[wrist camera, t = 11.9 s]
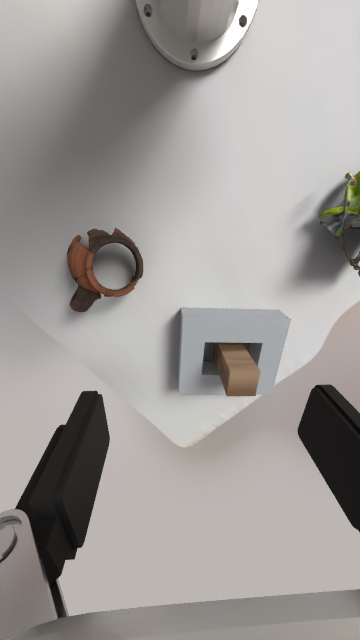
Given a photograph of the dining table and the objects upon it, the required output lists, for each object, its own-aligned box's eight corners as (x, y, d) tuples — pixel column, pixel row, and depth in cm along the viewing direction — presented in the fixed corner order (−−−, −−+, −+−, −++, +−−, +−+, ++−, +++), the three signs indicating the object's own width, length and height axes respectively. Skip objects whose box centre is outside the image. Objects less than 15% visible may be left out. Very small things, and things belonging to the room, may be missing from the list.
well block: (181, 307, 35) (182, 317, 31) (278, 309, 36) (290, 319, 33) (177, 379, 41) (178, 394, 37) (262, 379, 42) (271, 394, 38)
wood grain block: (214, 336, 37) (230, 371, 28) (237, 336, 38) (260, 371, 29) (212, 356, 39) (226, 396, 30) (234, 356, 39) (255, 395, 30)
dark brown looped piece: (79, 212, 30) (95, 210, 23) (137, 248, 36) (162, 254, 29) (43, 292, 30) (49, 311, 24) (105, 314, 37) (123, 333, 30)
